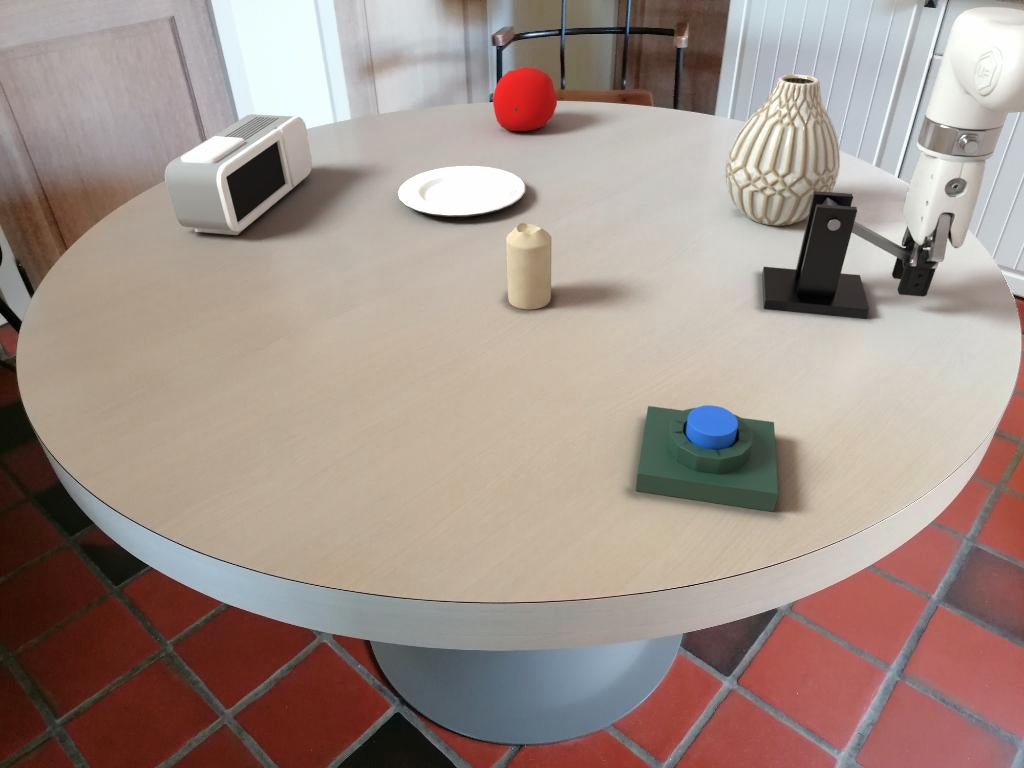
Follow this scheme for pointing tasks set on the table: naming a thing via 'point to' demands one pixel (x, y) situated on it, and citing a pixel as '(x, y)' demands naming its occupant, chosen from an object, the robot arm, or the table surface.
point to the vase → (784, 154)
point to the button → (711, 427)
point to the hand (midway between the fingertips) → (908, 285)
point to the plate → (461, 191)
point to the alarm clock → (238, 173)
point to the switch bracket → (820, 266)
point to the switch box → (708, 462)
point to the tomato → (524, 99)
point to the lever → (878, 239)
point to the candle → (529, 266)
